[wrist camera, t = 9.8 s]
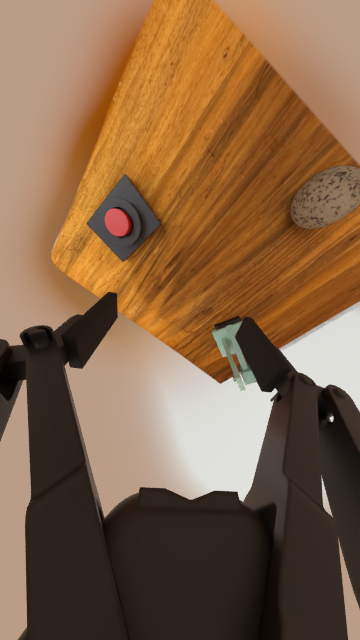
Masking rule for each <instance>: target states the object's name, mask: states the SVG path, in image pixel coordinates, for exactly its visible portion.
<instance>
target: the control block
mask: <svg viewBox="0 0 360 640" xmlns="http://www.w3.org/2000/svg"><path fill="white" fill-rule="evenodd" d="M113 208H116V209H119V210H122V211H124V212H126V213H127V214H128V216H129V217H130V219H131V223H132V228H131V231H130V233H129V234H128V235H126V236H115V235H113V234H112V233H111V232H110V231H109V230H108V229H107V227H106V224H105V215H106V213H107V211H108V210H110V209H113ZM87 224H88V226H89V227H90V228H91V229H92V230H93V231H94V232H95V233H96V234H97V235H98V236H99V237H100V238H101V239H102V240H103V241H104V242H105V244H106V245H107V246H108V247H109V248H110V249H111V250H112V251H113V252H114V253H115V254H116V255H117V256H118V257H119V258H120V259H121V261H122V262H123V261H125V260H127V259H128V258H129V257H130V256H131V255H132V254H133V253H134V252H135V251H136V250H137V249H138V248H139V247H140V246H141V245H142V244H143V243H144V242H145V241H146V240H147V239H148V238H149V237H150V236H151V235H152V234H153V233H154V232H155V231H156V230H157V229H158V228H159V227H160V226H161V225H162V223H161V222H160V220H159V219H158V218H157V216H156V215H155V213H154V212H153V211H152V209H151V208H150V206H149V205H148V204H147V202H146V201H145V200H144V198H143V197H142V195H141V194H140V193H139V191H138V190H137V188H136V187H135V186H134V184H133V183H132V181H131V180H130V179H129V178H128V177H127V176H126V175H125V174H124V176H123V177H122V178H121V179H120V181H119V182H118V183H117V185H116V186H115V187H114V189H113V190H112V191H111V192H110V194H109V195H108V196H107V198H106V199H105V200H104V201H103V203H102V204H101V205H100V207H99V208H98V209H97V210H96V212H95V213H94V214H93V216H92V217H91V218H90V220H89V221H88V222H87Z"/></svg>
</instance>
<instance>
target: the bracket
mask: <svg viewBox="0 0 360 640" xmlns="http://www.w3.org/2000/svg"><path fill="white" fill-rule="evenodd" d="M241 323H242V321H241V322H238V323H236V324H233V325H231V326H232V328H233V331H234V333H235V335H236V333H237V331H238V329H239V327H240V325H241ZM212 334H213V336H214V338H215V340H216V343H217V345H218V347H219V349H220V352H221V354H222V356H223V357H226V356H227V357H228V359H229V362H230V365H231V367H232V370H233V373H234V374H233V375H232V376H233V379H234V381H237V383H238V385H239V388H240V390H245V387H244V385H243V382H242V379H241V377H240V374H239V372H238V370H237V367H236V365H235V362H234V360H233V357H232V354H235V353H236V352H235V350H234V347H233V344H232V342H231V339H230V337H229V334H228V332H227V329H226V327H224V328H222V329H219V330H216V329H214V330H212ZM241 352H242V351H241Z"/></svg>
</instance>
